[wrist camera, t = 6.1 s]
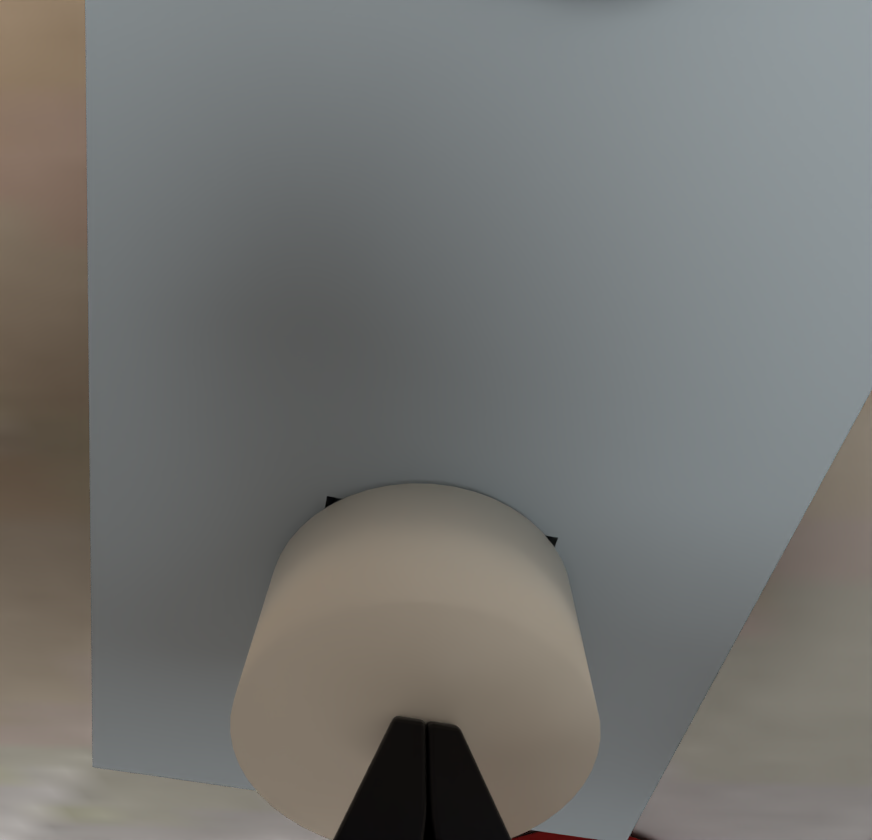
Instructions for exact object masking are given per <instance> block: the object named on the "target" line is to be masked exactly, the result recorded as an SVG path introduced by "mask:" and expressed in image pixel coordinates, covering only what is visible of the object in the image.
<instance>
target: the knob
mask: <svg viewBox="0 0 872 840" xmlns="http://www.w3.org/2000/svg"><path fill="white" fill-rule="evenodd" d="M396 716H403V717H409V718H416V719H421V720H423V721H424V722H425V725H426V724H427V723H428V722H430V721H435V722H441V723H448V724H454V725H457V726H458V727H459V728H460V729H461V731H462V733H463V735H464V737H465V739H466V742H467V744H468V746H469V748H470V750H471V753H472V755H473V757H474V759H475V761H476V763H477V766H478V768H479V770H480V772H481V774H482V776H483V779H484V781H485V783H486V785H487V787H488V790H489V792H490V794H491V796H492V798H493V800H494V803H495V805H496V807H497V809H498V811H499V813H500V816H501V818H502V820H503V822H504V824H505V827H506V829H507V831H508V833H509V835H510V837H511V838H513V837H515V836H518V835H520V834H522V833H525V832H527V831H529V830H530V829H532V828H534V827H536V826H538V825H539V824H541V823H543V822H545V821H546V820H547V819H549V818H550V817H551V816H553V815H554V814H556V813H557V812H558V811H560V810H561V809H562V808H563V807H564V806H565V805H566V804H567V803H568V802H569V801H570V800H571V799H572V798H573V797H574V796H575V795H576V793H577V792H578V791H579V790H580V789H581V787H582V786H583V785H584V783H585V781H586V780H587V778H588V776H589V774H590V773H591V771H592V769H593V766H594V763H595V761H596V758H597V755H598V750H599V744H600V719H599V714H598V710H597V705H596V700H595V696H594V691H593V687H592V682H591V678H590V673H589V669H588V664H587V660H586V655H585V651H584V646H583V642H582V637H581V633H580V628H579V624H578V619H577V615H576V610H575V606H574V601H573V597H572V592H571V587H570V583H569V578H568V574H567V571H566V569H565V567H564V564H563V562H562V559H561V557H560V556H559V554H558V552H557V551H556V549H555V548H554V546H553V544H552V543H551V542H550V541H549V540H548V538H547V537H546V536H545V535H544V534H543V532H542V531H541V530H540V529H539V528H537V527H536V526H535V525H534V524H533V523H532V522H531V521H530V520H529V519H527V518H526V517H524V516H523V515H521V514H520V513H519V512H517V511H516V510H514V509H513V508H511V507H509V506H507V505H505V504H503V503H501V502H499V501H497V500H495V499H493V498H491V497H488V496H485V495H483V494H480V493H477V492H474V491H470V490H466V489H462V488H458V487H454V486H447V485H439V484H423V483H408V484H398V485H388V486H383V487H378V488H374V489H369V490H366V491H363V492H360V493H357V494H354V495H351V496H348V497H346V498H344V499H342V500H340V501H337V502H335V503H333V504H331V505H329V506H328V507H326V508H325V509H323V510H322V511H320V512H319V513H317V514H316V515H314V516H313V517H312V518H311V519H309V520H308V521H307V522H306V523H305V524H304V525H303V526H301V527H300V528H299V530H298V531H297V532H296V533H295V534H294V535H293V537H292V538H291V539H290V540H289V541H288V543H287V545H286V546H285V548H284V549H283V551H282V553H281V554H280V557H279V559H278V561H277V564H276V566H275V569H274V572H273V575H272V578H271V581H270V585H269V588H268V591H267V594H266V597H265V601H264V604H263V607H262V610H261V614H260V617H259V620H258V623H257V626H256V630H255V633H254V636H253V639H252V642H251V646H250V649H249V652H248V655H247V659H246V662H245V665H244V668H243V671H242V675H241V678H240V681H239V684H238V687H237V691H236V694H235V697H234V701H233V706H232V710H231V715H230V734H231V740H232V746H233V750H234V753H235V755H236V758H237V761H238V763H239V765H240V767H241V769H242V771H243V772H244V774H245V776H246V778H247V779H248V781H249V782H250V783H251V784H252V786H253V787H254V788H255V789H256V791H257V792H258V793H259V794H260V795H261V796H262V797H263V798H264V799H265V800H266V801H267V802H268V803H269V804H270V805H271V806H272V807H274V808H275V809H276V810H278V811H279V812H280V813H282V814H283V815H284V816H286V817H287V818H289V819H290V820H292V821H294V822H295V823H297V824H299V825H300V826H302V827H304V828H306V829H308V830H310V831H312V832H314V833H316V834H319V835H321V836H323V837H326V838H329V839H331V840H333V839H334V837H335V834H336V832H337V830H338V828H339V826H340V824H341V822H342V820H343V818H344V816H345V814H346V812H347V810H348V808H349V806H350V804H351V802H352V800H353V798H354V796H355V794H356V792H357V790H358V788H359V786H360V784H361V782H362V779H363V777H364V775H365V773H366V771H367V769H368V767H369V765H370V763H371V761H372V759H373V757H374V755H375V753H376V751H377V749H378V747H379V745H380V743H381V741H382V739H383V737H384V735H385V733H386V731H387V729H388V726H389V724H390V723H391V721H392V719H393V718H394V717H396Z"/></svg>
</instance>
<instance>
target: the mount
mask: <svg viewBox="0 0 872 840" xmlns="http://www.w3.org/2000/svg"><path fill="white" fill-rule="evenodd" d="M85 29H86V132H87V234H88V337H89V440H90V543H91V646H92V749H93V767H96V768H103V769H109V770H116V771H123V772H130V773H137V774H144V775H151V776H158V777H165V778H172V779H179V780H186V781H193V782H200V783H207V784H214V785H221V786H228V787H235V788H242V789H249V790H256V789H255V788H254V787H253V786H252V784H251V783H250V782H249V781H248V779H247V778H246V776H245V774H244V772H243V771H242V769H241V767H240V765H239V763H238V761H237V758H236V755H235V753H234V750H233V746H232V740H231V734H230V715H231V710H232V706H233V701H234V697H235V694H236V691H237V687H238V684H239V681H240V678H241V675H242V671H243V668H244V665H245V662H246V659H247V655H248V652H249V649H250V646H251V642H252V639H253V636H254V633H255V630H256V626H257V623H258V620H259V617H260V614H261V610H262V607H263V604H264V601H265V597H266V594H267V591H268V588H269V585H270V581H271V578H272V575H273V572H274V569H275V566H276V564H277V561H278V559H279V557H280V554H281V553H282V551H283V549H284V548H285V546H286V545H287V543H288V541H289V540H290V539H291V538H292V537H293V535H294V534H295V533H296V532H297V531H298V530H299V528H300V527H301V526H303V525H304V524H305V523H306V522H307V521H308V520H309V519H311V518H312V517H313V516H314V515H316V514H317V513H319V512H320V511H322V510H323V509H325V508H326V507H328V506H329V505H331V504H333V503H335V502H337V501H340V500H342V499H344V498H346V497H348V496H351V495H354V494H357V493H360V492H363V491H366V490H369V489H374V488H378V487H383V486H388V485H398V484H408V483H423V484H439V485H447V486H454V487H458V488H462V489H466V490H470V491H474V492H477V493H480V494H483V495H485V496H488V497H491V498H493V499H495V500H497V501H499V502H501V503H503V504H505V505H507V506H509V507H511V508H513V509H514V510H516V511H517V512H519V513H520V514H521V515H523V516H524V517H526V518H527V519H529V520H530V521H531V522H532V523H533V524H534V525H535V526H536V527H537V528H539V529H540V530H541V531H542V532H543V534H544V535H545V536H546V537H547V538H548V540H549V541H550V542H551V543H552V544H553V546H554V548H555V549H556V551H557V552H558V554H559V556H560V557H561V559H562V562H563V564H564V567H565V569H566V571H567V574H568V578H569V583H570V587H571V592H572V597H573V601H574V606H575V610H576V615H577V619H578V624H579V628H580V633H581V637H582V642H583V646H584V651H585V655H586V660H587V664H588V669H589V673H590V678H591V682H592V687H593V691H594V696H595V700H596V705H597V710H598V714H599V719H600V744H599V750H598V755H597V758H596V761H595V763H594V766H593V769H592V771H591V773H590V774H589V776H588V778H587V780H586V781H585V783H584V785H583V786H582V787H581V789H580V790H579V791H578V792H577V793H576V795H575V796H574V797H573V798H572V799H571V800H570V801H569V802H568V803H567V804H566V805H565V806H564V807H563V808H562V809H561V810H560V811H558V812H557V813H556V814H554V815H553V816H551V817H550V818H549V819H547V820H546V821H545V822H543V823H541V824H539V825H538V826H536V827H534V828H532V829H530V830H534V831H541V832H548V833H555V834H562V835H569V836H576V837H583V838H590V839H597V840H627V839H628V838H629V836H630V834H631V832H632V830H633V828H634V827H635V825H636V823H637V821H638V819H639V817H640V816H641V814H642V812H643V810H644V808H645V806H646V805H647V803H648V801H649V799H650V797H651V795H652V793H653V792H654V790H655V788H656V786H657V784H658V782H659V781H660V779H661V777H662V775H663V773H664V771H665V770H666V768H667V766H668V764H669V762H670V760H671V758H672V757H673V755H674V753H675V751H676V749H677V747H678V746H679V744H680V742H681V740H682V738H683V736H684V735H685V733H686V731H687V729H688V727H689V725H690V724H691V722H692V720H693V718H694V716H695V714H696V712H697V711H698V709H699V707H700V705H701V703H702V701H703V700H704V698H705V696H706V694H707V692H708V690H709V689H710V687H711V685H712V683H713V681H714V679H715V677H716V676H717V674H718V672H719V670H720V668H721V666H722V665H723V663H724V661H725V659H726V657H727V655H728V654H729V652H730V650H731V648H732V646H733V644H734V642H735V641H736V639H737V637H738V635H739V633H740V631H741V630H742V628H743V626H744V624H745V622H746V620H747V619H748V617H749V615H750V613H751V611H752V609H753V608H754V606H755V604H756V602H757V600H758V598H759V596H760V595H761V593H762V591H763V589H764V587H765V585H766V584H767V582H768V580H769V578H770V576H771V574H772V573H773V571H774V569H775V567H776V565H777V563H778V561H779V560H780V558H781V556H782V554H783V552H784V550H785V549H786V547H787V545H788V543H789V541H790V539H791V538H792V536H793V534H794V532H795V530H796V528H797V527H798V525H799V523H800V521H801V519H802V517H803V515H804V514H805V512H806V510H807V508H808V506H809V504H810V503H811V501H812V499H813V497H814V495H815V493H816V492H817V490H818V488H819V486H820V484H821V482H822V480H823V479H824V477H825V475H826V473H827V471H828V469H829V468H830V466H831V464H832V462H833V460H834V458H835V457H836V455H837V453H838V451H839V449H840V447H841V446H842V444H843V442H844V440H845V438H846V436H847V434H848V433H849V431H850V429H851V427H852V425H853V423H854V422H855V420H856V418H857V416H858V414H859V412H860V411H861V409H862V407H863V405H864V403H865V401H866V399H867V398H868V396H869V394H870V392H871V390H872V0H85Z"/></svg>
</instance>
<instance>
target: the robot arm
mask: <svg viewBox="0 0 872 840" xmlns="http://www.w3.org/2000/svg"><path fill="white" fill-rule="evenodd" d="M333 840H511V837H510V835H509V833H508V831H507V829H506V827H505V824H504V822H503V820H502V818H501V816H500V813H499V811H498V809H497V807H496V805H495V803H494V800H493V798H492V796H491V794H490V792H489V790H488V787H487V785H486V783H485V781H484V779H483V776H482V774H481V772H480V770H479V768H478V766H477V763H476V761H475V759H474V757H473V755H472V753H471V750H470V748H469V746H468V744H467V742H466V739H465V737H464V735H463V733H462V731H461V729H460V728H459V727H458V726H457V725H454V724H448V723H441V722H435V721H430V722H428V723H427V724H426V725H425V722H424V721H423V720H421V719H416V718H409V717H403V716H396V717H394V718H393V719H392V721H391V723H390V724H389V726H388V729H387V731H386V733H385V735H384V737H383V739H382V741H381V743H380V745H379V747H378V749H377V751H376V753H375V755H374V757H373V759H372V761H371V763H370V765H369V767H368V769H367V771H366V773H365V775H364V777H363V779H362V782H361V784H360V786H359V788H358V790H357V792H356V794H355V796H354V798H353V800H352V802H351V804H350V806H349V808H348V810H347V812H346V814H345V816H344V818H343V820H342V822H341V824H340V826H339V828H338V830H337V832H336V834H335V837H334V839H333Z"/></svg>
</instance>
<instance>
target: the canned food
mask: <svg viewBox="0 0 872 840" xmlns="http://www.w3.org/2000/svg"><path fill="white" fill-rule="evenodd" d="M511 840H597V839H590V838H583V837H576V836H569V835H562V834H555V833H548V832H535V833H531V834H527V835H523V836H519V837H515V838H512V839H511ZM627 840H640V839H637V838H635V837H631V836H629V838H628V839H627Z"/></svg>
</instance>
